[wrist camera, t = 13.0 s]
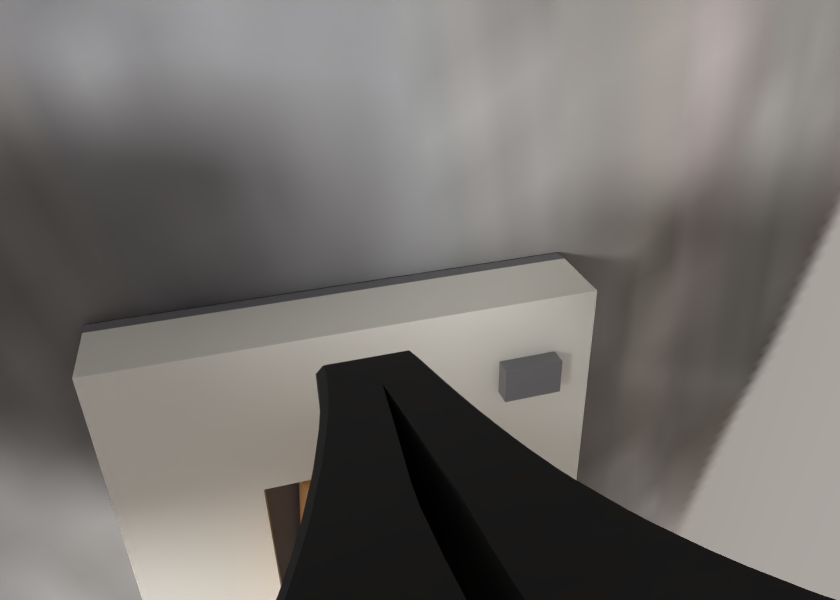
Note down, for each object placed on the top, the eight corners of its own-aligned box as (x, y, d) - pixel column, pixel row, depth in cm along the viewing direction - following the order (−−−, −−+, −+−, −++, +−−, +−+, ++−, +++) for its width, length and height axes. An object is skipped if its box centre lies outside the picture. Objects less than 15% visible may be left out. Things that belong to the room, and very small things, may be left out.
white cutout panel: (195, 702, 27) (196, 784, 24) (84, 324, 19) (69, 391, 16) (530, 612, 29) (561, 677, 27) (558, 252, 22) (606, 299, 19)
